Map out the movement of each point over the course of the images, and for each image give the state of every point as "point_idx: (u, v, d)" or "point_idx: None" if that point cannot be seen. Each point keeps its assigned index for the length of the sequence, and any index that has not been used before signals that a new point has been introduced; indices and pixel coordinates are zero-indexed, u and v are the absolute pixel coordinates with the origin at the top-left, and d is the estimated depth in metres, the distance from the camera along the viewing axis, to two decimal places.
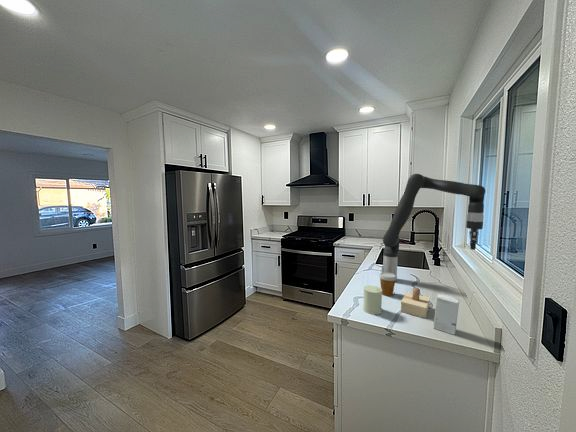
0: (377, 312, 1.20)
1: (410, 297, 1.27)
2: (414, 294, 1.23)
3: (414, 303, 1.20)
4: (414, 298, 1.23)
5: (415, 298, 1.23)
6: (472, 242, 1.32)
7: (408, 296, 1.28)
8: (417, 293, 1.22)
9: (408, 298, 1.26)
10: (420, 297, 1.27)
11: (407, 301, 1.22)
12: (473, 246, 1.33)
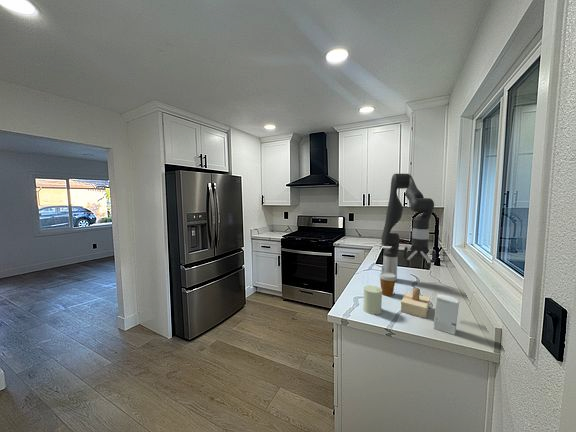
0: (377, 312, 1.20)
1: (410, 297, 1.27)
2: (414, 294, 1.23)
3: (414, 303, 1.20)
4: (414, 298, 1.23)
5: (415, 298, 1.23)
6: None
7: (408, 296, 1.28)
8: (417, 293, 1.22)
9: (408, 298, 1.26)
10: (420, 297, 1.27)
11: (407, 301, 1.22)
12: (430, 266, 1.19)
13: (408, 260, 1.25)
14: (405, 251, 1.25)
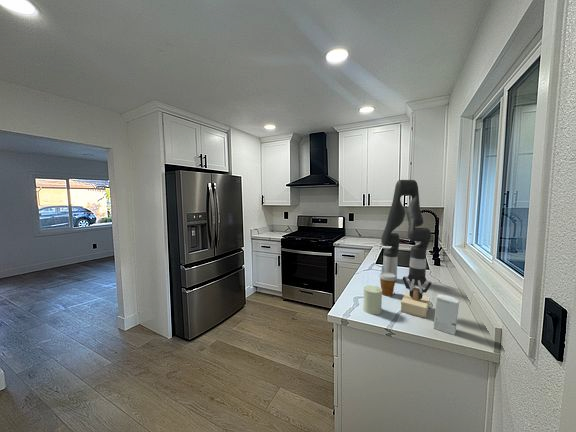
0: (377, 312, 1.20)
1: (410, 297, 1.27)
2: (414, 294, 1.23)
3: (414, 303, 1.20)
4: (414, 298, 1.23)
5: (415, 298, 1.23)
6: None
7: (408, 296, 1.28)
8: (417, 293, 1.22)
9: (408, 298, 1.26)
10: None
11: (407, 301, 1.22)
12: (422, 295, 1.23)
13: (410, 291, 1.25)
14: (405, 281, 1.26)
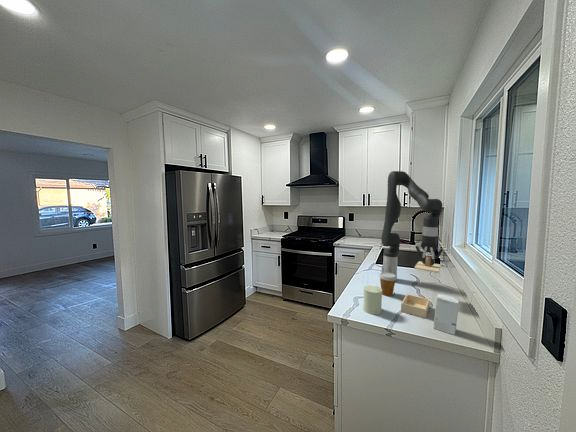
0: (377, 312, 1.20)
1: (422, 264, 1.37)
2: (426, 261, 1.34)
3: (427, 268, 1.30)
4: (426, 264, 1.34)
5: (427, 264, 1.33)
6: (436, 258, 1.31)
7: (420, 264, 1.38)
8: (429, 259, 1.33)
9: (421, 265, 1.36)
10: None
11: (420, 267, 1.32)
12: None
13: (423, 258, 1.35)
14: (417, 250, 1.36)
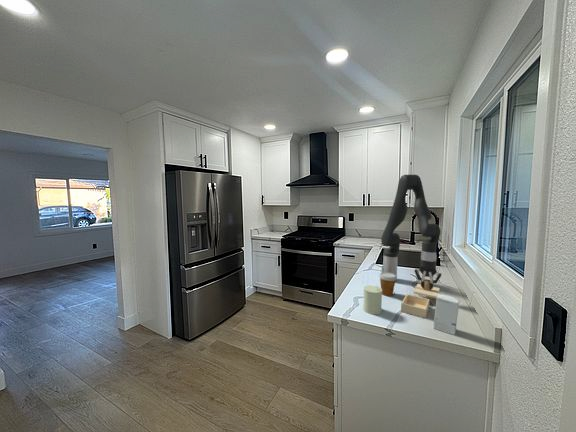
0: (377, 312, 1.20)
1: (421, 288, 1.38)
2: (425, 285, 1.35)
3: (426, 293, 1.31)
4: (425, 288, 1.35)
5: (426, 288, 1.35)
6: (435, 282, 1.33)
7: (419, 287, 1.39)
8: (428, 284, 1.34)
9: (420, 288, 1.37)
10: None
11: (419, 291, 1.34)
12: (432, 286, 1.34)
13: (422, 282, 1.36)
14: (416, 273, 1.37)
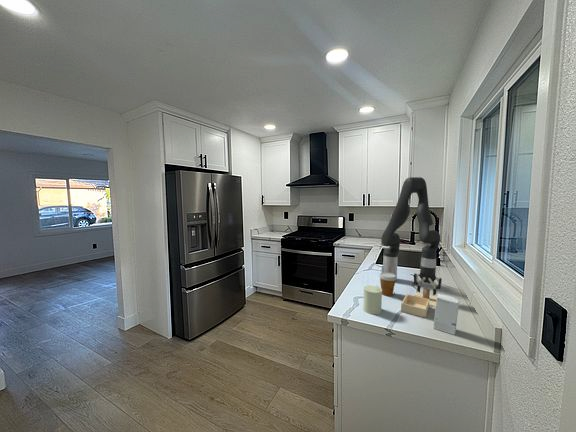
0: (377, 312, 1.20)
1: (421, 296, 1.39)
2: (425, 294, 1.35)
3: None
4: (425, 297, 1.36)
5: (425, 297, 1.35)
6: (438, 288, 1.32)
7: (419, 295, 1.40)
8: (427, 293, 1.35)
9: None
10: (430, 296, 1.39)
11: None
12: None
13: (418, 286, 1.38)
14: (415, 278, 1.38)
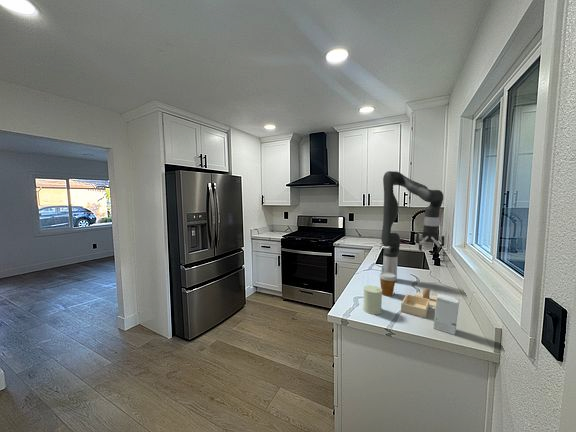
0: (377, 312, 1.20)
1: (421, 296, 1.39)
2: (425, 294, 1.35)
3: None
4: (425, 297, 1.36)
5: (425, 297, 1.35)
6: (442, 246, 1.35)
7: (419, 295, 1.40)
8: (427, 293, 1.35)
9: None
10: (430, 296, 1.39)
11: None
12: (439, 250, 1.36)
13: (420, 245, 1.41)
14: (417, 237, 1.41)
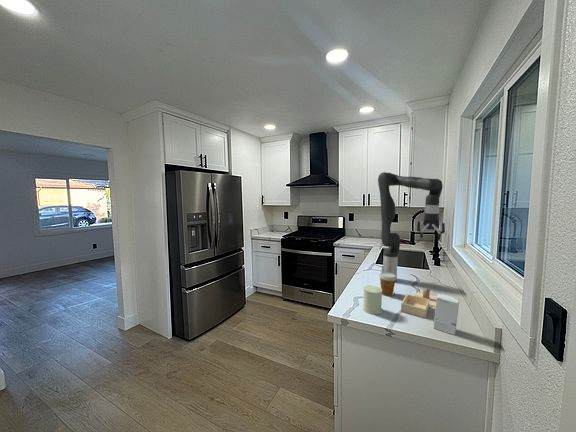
0: (377, 312, 1.20)
1: (421, 296, 1.39)
2: (425, 294, 1.36)
3: None
4: (425, 297, 1.36)
5: (425, 297, 1.35)
6: None
7: (419, 295, 1.40)
8: (427, 293, 1.35)
9: None
10: (430, 296, 1.39)
11: None
12: (440, 236, 1.40)
13: (421, 232, 1.45)
14: (418, 225, 1.45)
